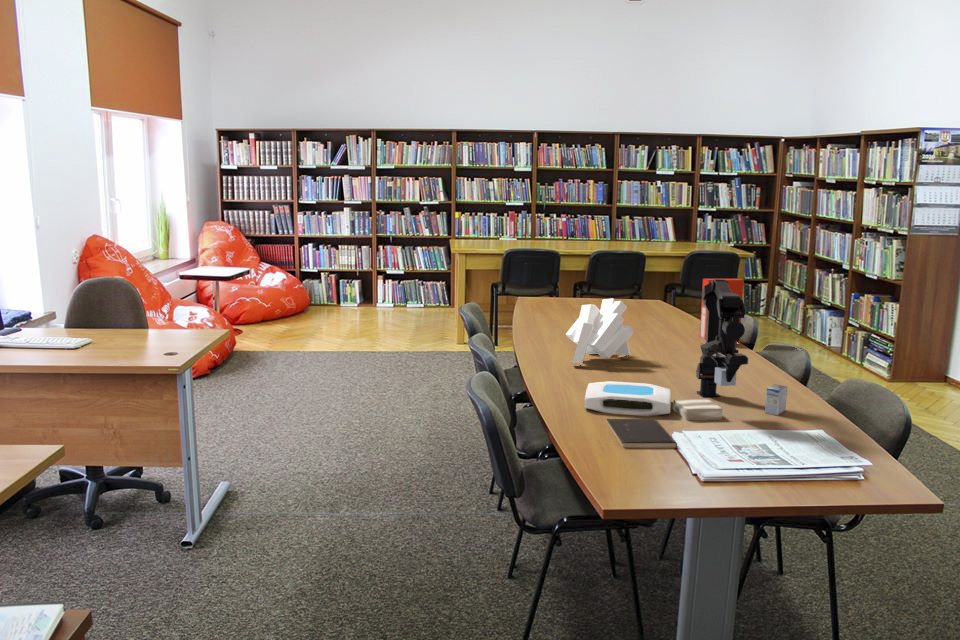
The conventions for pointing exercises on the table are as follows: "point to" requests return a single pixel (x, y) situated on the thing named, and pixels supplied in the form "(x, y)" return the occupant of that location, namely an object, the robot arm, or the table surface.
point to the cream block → (697, 409)
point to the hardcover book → (641, 433)
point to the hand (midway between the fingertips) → (724, 380)
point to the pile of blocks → (600, 331)
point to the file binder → (734, 286)
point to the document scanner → (628, 397)
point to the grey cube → (723, 377)
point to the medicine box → (776, 399)
